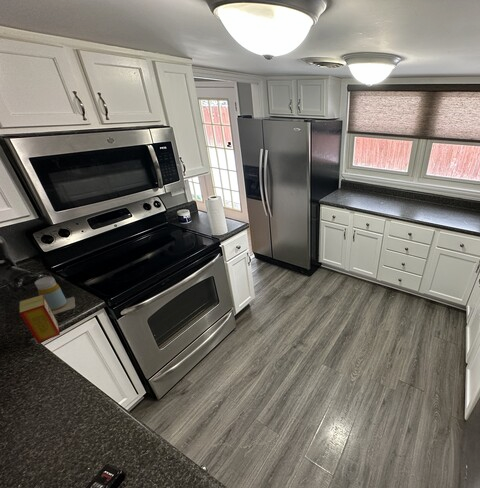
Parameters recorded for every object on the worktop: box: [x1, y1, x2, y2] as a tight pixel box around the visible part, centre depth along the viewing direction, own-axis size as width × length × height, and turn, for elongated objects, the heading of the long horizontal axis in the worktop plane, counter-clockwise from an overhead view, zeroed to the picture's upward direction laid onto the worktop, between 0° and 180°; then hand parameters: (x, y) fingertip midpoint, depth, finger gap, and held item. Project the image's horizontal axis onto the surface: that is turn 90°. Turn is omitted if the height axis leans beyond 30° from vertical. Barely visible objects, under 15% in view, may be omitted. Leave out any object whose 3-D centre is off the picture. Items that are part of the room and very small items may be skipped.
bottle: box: [34, 276, 67, 311], centre depth 122 cm, size 7×7×15 cm
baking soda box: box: [19, 294, 61, 344], centre depth 107 cm, size 10×6×16 cm
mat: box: [52, 296, 76, 316], centre depth 125 cm, size 12×11×1 cm
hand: (38, 284), depth 123 cm, fingers open, 8 cm apart
